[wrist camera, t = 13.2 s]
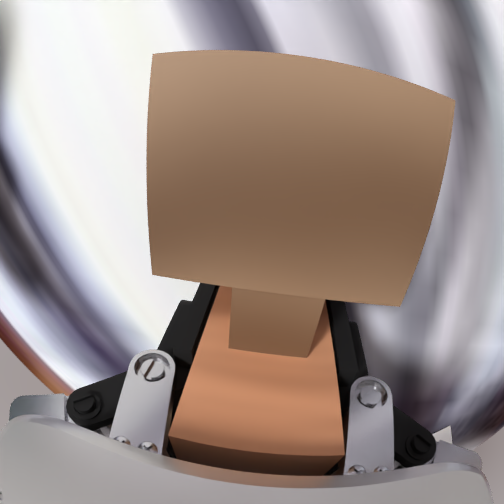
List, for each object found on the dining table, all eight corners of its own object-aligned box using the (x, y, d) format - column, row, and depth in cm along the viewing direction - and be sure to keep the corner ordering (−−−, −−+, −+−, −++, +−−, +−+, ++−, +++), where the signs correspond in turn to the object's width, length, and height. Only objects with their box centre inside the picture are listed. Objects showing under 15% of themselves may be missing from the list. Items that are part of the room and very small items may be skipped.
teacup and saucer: (425, 461, 25) (429, 484, 21) (373, 479, 27) (375, 502, 24) (417, 449, 22) (423, 477, 18) (355, 470, 24) (357, 497, 21)
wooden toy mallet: (218, 83, 9) (53, 24, 2) (373, 104, 8) (557, 111, 1) (210, 426, 19) (189, 514, 12) (280, 435, 18) (273, 526, 11)
